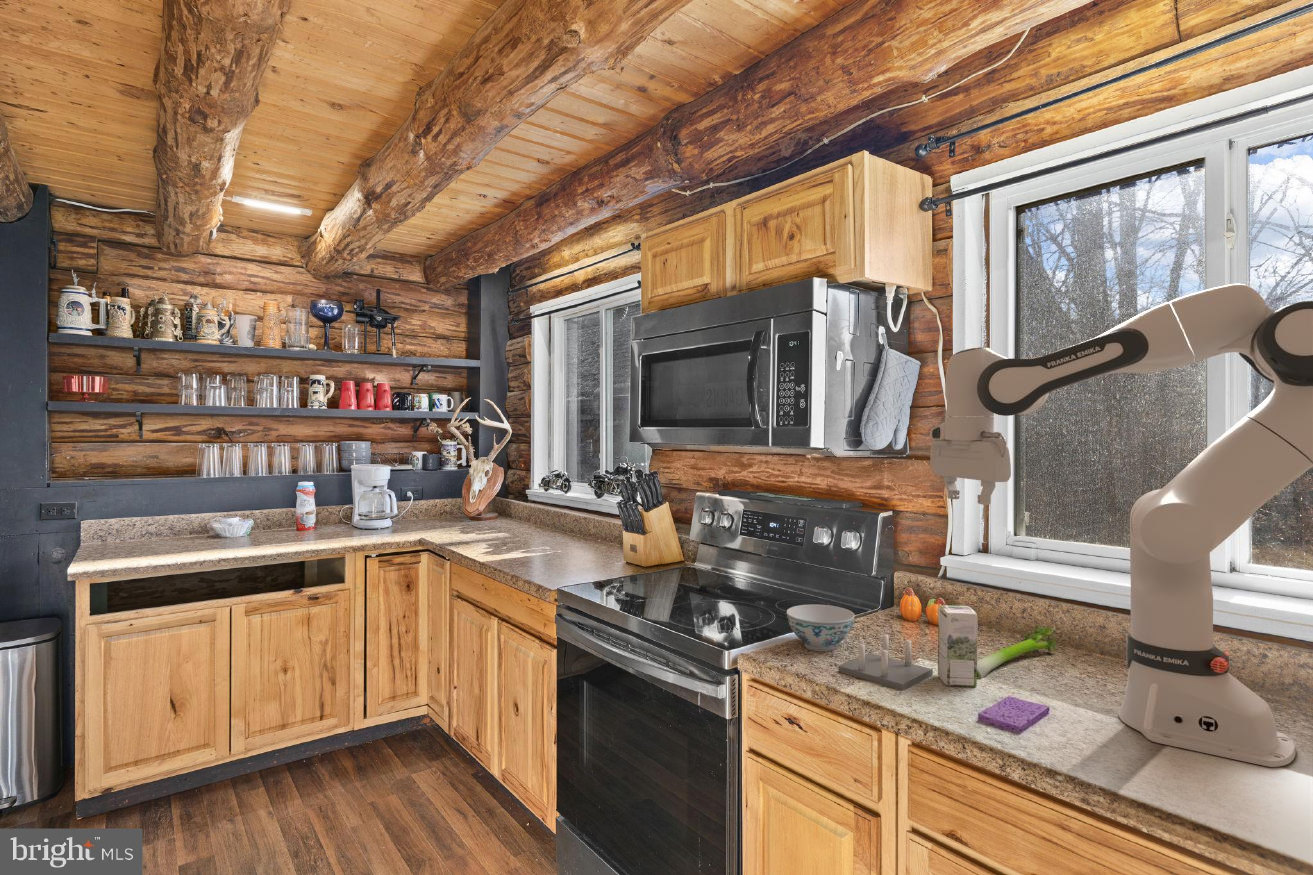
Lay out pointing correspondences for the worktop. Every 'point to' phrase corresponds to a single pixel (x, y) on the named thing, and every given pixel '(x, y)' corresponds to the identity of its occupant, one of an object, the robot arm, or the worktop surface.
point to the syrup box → (957, 645)
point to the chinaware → (820, 625)
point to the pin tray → (886, 667)
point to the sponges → (1013, 714)
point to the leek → (1016, 650)
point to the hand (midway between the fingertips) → (968, 501)
